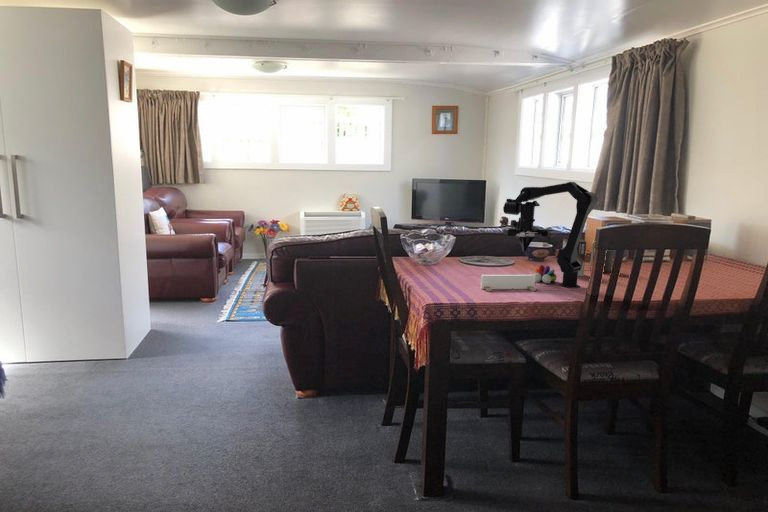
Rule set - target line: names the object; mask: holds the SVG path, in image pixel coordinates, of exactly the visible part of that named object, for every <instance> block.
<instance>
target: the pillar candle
mask: <svg viewBox="0 0 768 512" xmlns="http://www.w3.org/2000/svg"><path fill="white" fill-rule="evenodd" d="M594 242H595V241H592V244H591V245H592V246H591V254H590V264H589V271H591V266H592V261H593V256H594ZM613 257H614V251H607V253H606V260H605V266H604V273H603V274H610V271H611V272H612V270H611V267H612V268H613V259H614V258H613Z"/></svg>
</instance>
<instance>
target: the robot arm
mask: <svg viewBox="0 0 768 512" xmlns="http://www.w3.org/2000/svg"><path fill="white" fill-rule="evenodd" d="M562 193H568V194H569V195H570V196H571V197H572V198H573V199H574V200H576V205H575V207H576V209H575V210H576V214H575V217H574V220H573V223H572V227H571V230H570V232H569V235H568V238H567V239H568V241H567V244H566V246H565V247H564V248H563V247H560V248H559V249H558V254H557V256H556V257H555V258H556V259H557V260H556V263H557V265H558V266H559V269H560V273H561V272H563V275H562V282H559V283H558V284H559V285H560V286H563V287H564V288H581V285H579V284H578V277H579V276H578V271H580V270H581V268H582V266H581V265H580V263H579V262H578V261H577V255H578V252H577V247H578V244H579V241H580V240H581V237H582V235H583V232H584V229H585V225H586V223H587V219H588V216H589V215H590V214H591V213H592V211H593V210H594V208H595V207H596V204H597V203H598V201H599V200H598V199H599V197H598V196H597V194H596V193H594V192H592V191H589V190H587V189H586V188H584V187H582V186H580V185H579V184H578V183H577V182H575V181H567V182H563V183H558V184H557V183H556V184H554V185H553V184H552V185H547V186H546V185H545V186H526V187H525V186H524V187H523V188H522V189H521V190H520V193H519V194H518V195H517V197H516V198H515V199H512V198H506V201H505V202H504V204H503V209H502V210H503V213H504V214H505V215H514V216H518V215H519V216H520V217H518V221H517V220H516V219H511V220H510V227H504V228H503V230H502V234H503V235H505V236H507V237H516V238H518V240H519V243H520V245H521V250H522V252H524V253H526V252H527V251H528V250H527V249H528V248H529V247H530V244H531V243H532V241H533V240H534V239H536V238H537V236H535V235H540V236H541V237H549V230H548V229H547V228H543V227H539V228H538V227H537V228H534V222H535V221H536V218H535V209H536V208H535V207H540V206H541V205H540V203H539V202H538V201H537V200H536V199H540V198H542V197H544V196H550V195H556V194H557V195H558V194H562Z"/></svg>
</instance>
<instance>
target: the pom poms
mask: <svg viewBox="0 0 768 512" xmlns="http://www.w3.org/2000/svg"><path fill="white" fill-rule="evenodd" d="M534 272H535V273H533V275H536V278H535V283H539V282H541V281H542V283H544V284H546V283H548V284H551V281H554V282H555V281H556V280H557V279H558V278H557V274H556V273H555V269H552V270H551V267H550V266H549V265H546V266H544V265H542V264H540V265H539V267H538V268H534Z"/></svg>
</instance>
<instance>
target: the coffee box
mask: <svg viewBox="0 0 768 512" xmlns="http://www.w3.org/2000/svg"><path fill="white" fill-rule="evenodd" d="M567 241H568V238H564V239H563V240H562V248H564V247H565V246H566V244H567ZM586 250H587V241H586V240H585V239H580V241H579V244H578V247H577V252H578V255H577V261H578V262H579V263H580V265H581V266H582V268H581V270H580V271H578V277H584V275H585V266H586V265H585V261H586ZM560 274H562V276H563V272H561V271H560Z"/></svg>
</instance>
